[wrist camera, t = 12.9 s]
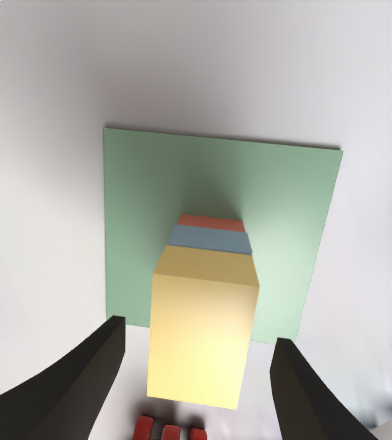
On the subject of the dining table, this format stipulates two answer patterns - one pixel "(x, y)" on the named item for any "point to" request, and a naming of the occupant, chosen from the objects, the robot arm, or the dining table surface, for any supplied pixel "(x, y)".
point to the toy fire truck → (169, 434)
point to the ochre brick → (200, 325)
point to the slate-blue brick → (210, 239)
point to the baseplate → (215, 215)
